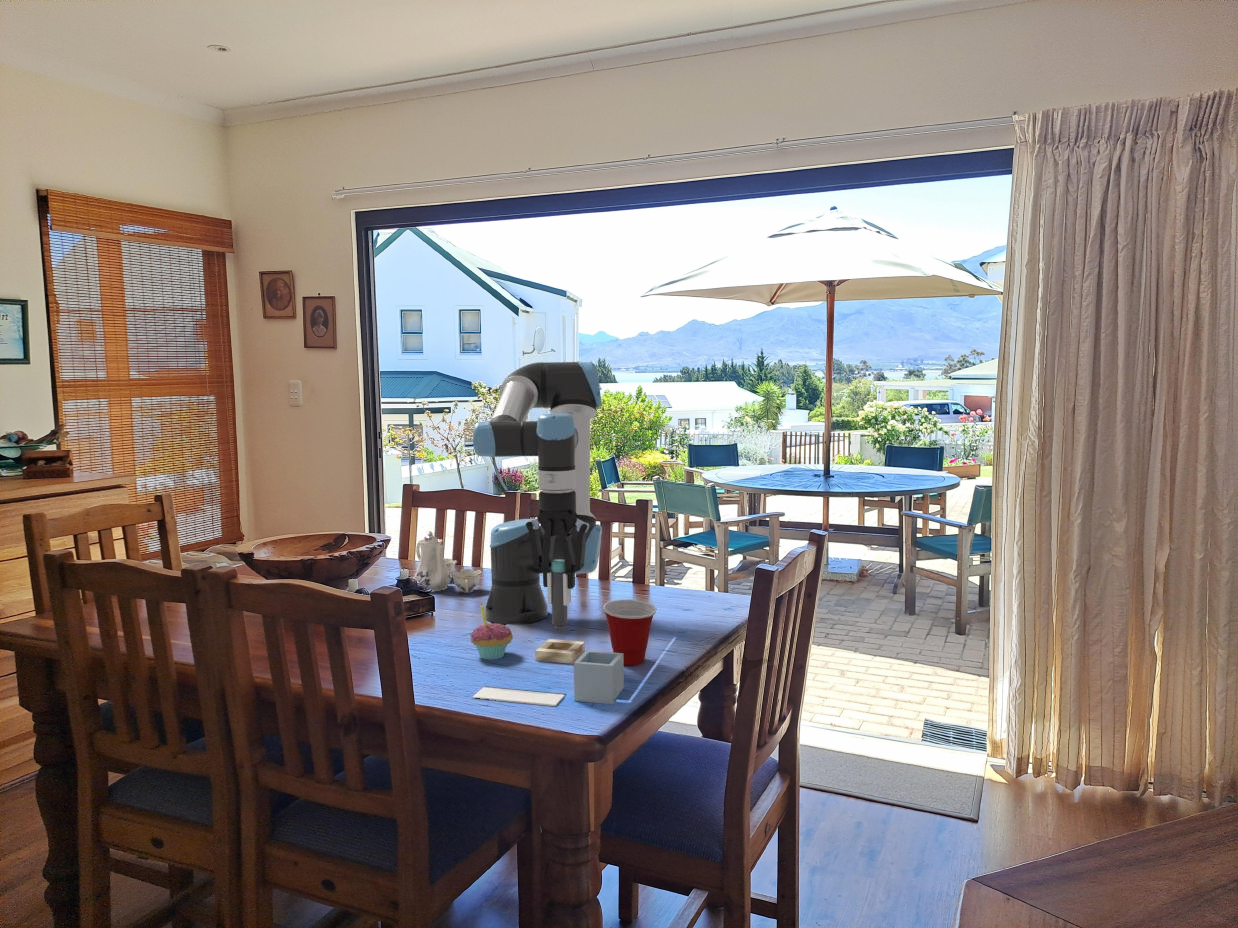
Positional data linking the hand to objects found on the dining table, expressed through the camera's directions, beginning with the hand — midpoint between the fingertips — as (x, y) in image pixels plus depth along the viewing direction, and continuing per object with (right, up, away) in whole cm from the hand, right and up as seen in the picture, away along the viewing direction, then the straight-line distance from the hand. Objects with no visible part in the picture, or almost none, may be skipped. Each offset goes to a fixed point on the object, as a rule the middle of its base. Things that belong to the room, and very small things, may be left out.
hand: (559, 602), depth 177 cm
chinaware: (-37, -6, +63) cm, 73 cm away
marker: (0, -5, 0) cm, 5 cm away
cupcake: (-14, -12, +2) cm, 19 cm away
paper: (-5, -13, -16) cm, 22 cm away
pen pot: (+9, -14, -20) cm, 26 cm away
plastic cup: (+15, -12, -3) cm, 19 cm away
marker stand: (0, -12, +1) cm, 12 cm away
